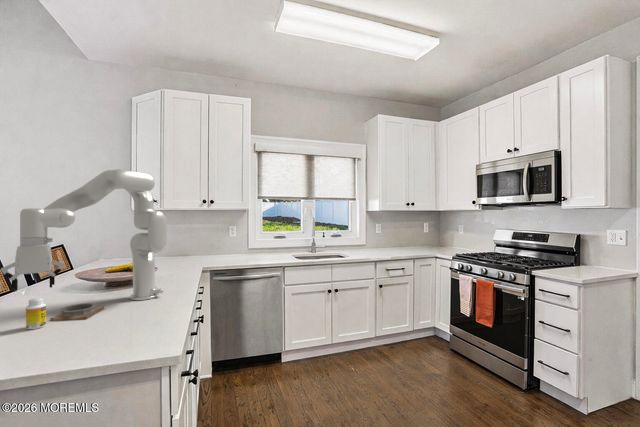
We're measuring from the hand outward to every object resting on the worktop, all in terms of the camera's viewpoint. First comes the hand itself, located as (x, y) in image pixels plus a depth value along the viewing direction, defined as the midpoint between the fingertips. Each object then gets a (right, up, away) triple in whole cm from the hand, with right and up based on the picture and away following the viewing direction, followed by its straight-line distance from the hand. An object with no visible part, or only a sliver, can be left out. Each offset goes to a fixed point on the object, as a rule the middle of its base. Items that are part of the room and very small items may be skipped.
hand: (33, 288), depth 118 cm
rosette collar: (+6, -14, +15) cm, 21 cm away
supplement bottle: (0, -15, +1) cm, 15 cm away
